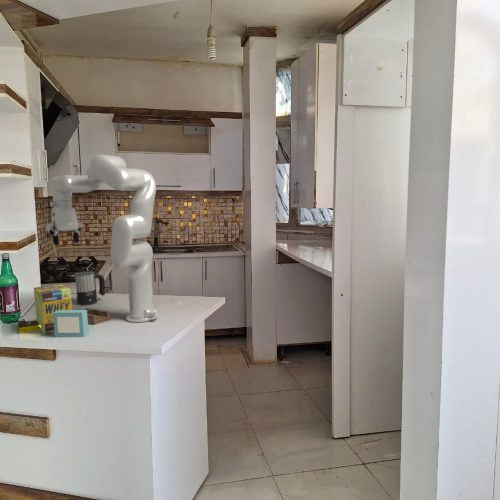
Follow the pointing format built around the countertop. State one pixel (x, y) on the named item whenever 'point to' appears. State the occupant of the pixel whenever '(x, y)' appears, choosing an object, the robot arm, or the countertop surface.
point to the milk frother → (88, 287)
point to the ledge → (97, 316)
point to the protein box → (51, 304)
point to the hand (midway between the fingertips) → (66, 243)
